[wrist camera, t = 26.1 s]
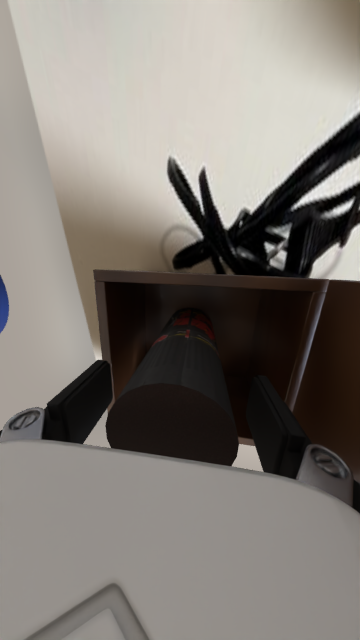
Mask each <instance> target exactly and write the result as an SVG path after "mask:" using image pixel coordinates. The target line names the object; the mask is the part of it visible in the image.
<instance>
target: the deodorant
mask: <svg viewBox="0 0 360 640" xmlns="http://www.w3.org/2000/svg"><path fill="white" fill-rule="evenodd" d="M106 433H107V439H108V442H109V444H110V446H111V448H113V449H120V450H127V451H133V452H140V453H147V454H154V455H160V456H167V457H173V458H180V459H186V460H193V461H199V462H206V463H212V464H218V465H225V466H232V464H233V462H234V460H235V459H236V457H237V452H238V446H239V440H238V435H237V430H236V425H235V421H234V416H233V412H232V408H231V404H230V399H229V395H228V391H227V386H226V382H225V378H224V373H223V369H222V365H221V360H220V356H219V352H218V348H217V343H216V339H215V335H214V330H213V326H212V322H211V320H210V318H209V317H208V316H207V315H206V313H204V312H203V311H201V310H199V309H196V308H190V307H187V308H182V309H180V310H178V311H176V312H175V313H174V314H173V315H172V316H171V318H170V319H169V321H168V322H167V324H166V325H165V327H164V328H163V330H162V331H161V333H160V334H159V336H158V337H157V339H156V340H155V342H154V343H153V345H152V346H151V348H150V350H149V351H148V353H147V354H146V356H145V357H144V359H143V360H142V362H141V363H140V365H139V366H138V368H137V369H136V371H135V372H134V374H133V375H132V377H131V378H130V380H129V381H128V383H127V384H126V386H125V387H124V389H123V390H122V392H121V394H120V395H119V397H118V398H117V400H116V401H115V403H114V404H113V406H112V408H111V409H110V411H109V412H108V417H107V422H106Z"/></svg>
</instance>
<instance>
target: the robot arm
mask: <svg viewBox="0 0 360 640" xmlns="http://www.w3.org/2000/svg"><path fill="white" fill-rule="evenodd" d="M112 399H113V390H112V379H111V368H110V363H108V361H106V360H97V361H96V362H95V363H94V364H92V365H91V366H90V367H89V368H88V369H87V370H85V372H83V373H82V374H81V375H80V376H79V377H78V378H76V379H75V380H74V381H73V382H72V383H70V384H69V385H68V386H67V387H66V388H65V389H63V390H62V391H61V392H60V393H59V394H58V395H56V396H55V397H54V398H53V399H52V400H51V401H50V402H48V403H47V407H46V408H45V409H42V408H39V407H35V408H30V409H26V410H24V411H22V412H20V413H18V414H16V415H14V416H13V417H12V418H10V419H9V420H8V421H7V423H6V424H5V426H4V428H3V430H1V431H0V640H360V483H358V482H357V481H355V480H354V477H353V472H352V470H351V468H350V467H349V465H348V464H347V463H346V462H345V461H344V459H342V458H341V457H340V456H339V455H338V454H337V453H335V452H334V451H332V450H331V449H329V448H327V447H325V446H322V445H319V444H312V442H311V441H310V439H309V438H308V436H307V435H306V433H305V432H304V430H303V429H302V427H301V425H300V424H299V422H298V421H297V419H296V418H295V416H294V415H293V413H292V412H291V410H290V409H289V407H288V406H287V404H286V403H285V402H284V401H283V400H282V399H281V398H280V396H279V395H278V393H277V391H276V390H275V388H274V387H273V385H272V384H271V382H270V381H269V379H268V378H267V376H260V375H256V376H255V377H253V378H252V382H251V387H250V393H249V398H248V403H247V409H246V418H247V422H248V425H249V428H250V431H251V434H252V437H253V440H254V443H255V446H256V450H257V453H258V455H259V459H260V462H261V465H262V468H263V471H264V472H259V471H253V470H248V469H243V468H237V467H231V466H225V465H218V464H212V463H206V462H199V461H193V460H186V459H180V458H173V457H167V456H160V455H154V454H147V453H140V452H133V451H127V450H120V449H113V448H106V447H99V446H92V445H84V444H83V443H84V441H85V440H86V438H87V437H88V435H89V434H90V432H91V431H92V429H93V428H94V427H95V425H96V424H97V422H98V421H99V419H100V418H101V416H102V415H103V413H104V412H105V410H106V409H107V408H108V406H109V405H110V403H111V402H112Z"/></svg>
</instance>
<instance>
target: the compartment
mask: <svg viewBox="0 0 360 640" xmlns="http://www.w3.org/2000/svg"><path fill="white" fill-rule="evenodd" d="M93 271H94V280H95V291H96V301H97V311H98V321H99V330H100V340H101V350H102V360H106V361H108V363H110V368H111V379H112V390H113V399H112V402H111V403H110V405H109V406H108V408H107V409H108V412H109V411H110V409H111V408H112V406H113V404H114V403H115V401H116V400H117V398H118V397H119V395H120V394H121V392H122V390H123V389H124V387H125V386H126V384H127V383H128V381H129V380H130V378H131V377H132V375H133V374H134V372H135V371H136V369H137V368H138V366H139V365H140V363H141V362H142V360H143V359H144V357H145V356H146V354H147V353H148V351H149V350H150V348H151V346H152V345H153V343H154V342H155V340H156V339H157V337H158V336H159V334H160V333H161V331H162V330H163V328H164V327H165V325H166V324H167V322H168V321H169V319H170V318H171V316H172V315H173V314H174V313H175V312H176V311H178V310H180V309H182V308H187V307H190V308H196V309H199V310H201V311H203V312H204V313H206V315H207V316H208V317H209V318H210V320H211V322H212V326H213V330H214V335H215V339H216V343H217V348H218V352H219V356H220V360H221V365H222V369H223V373H224V378H225V382H226V386H227V391H228V395H229V399H230V404H231V408H232V412H233V416H234V421H235V425H236V430H237V435H238V440H239V444H244V445H251V446H255V443H254V440H253V437H252V434H251V431H250V428H249V425H248V422H247V418H246V409H247V403H248V398H249V393H250V387H251V382H252V378H253V377H255V376H256V375H260V376H267V378H268V379H269V381H270V382H271V384H272V385H273V387H274V388H275V390H276V391H277V393H278V395H279V396H280V398H281V399H282V400H283V401H284V402H285V403H286V404H287V406H288V407H289V409H290V410H291V412H292V411H293V408H294V404H295V401H296V397H297V393H298V390H299V386H300V383H301V379H302V376H303V372H304V369H305V365H306V362H307V358H308V354H309V351H310V347H311V344H312V340H313V337H314V333H315V330H316V326H317V323H318V319H319V315H320V312H321V308H322V305H323V301H324V298H325V294H326V291H327V287H328V284H329V281H330V280H329V279H312V278H293V277H274V276H251V275H227V274H202V273H178V272H154V271H125V270H93Z"/></svg>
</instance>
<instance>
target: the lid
mask: <svg viewBox="0 0 360 640" xmlns="http://www.w3.org/2000/svg"><path fill="white" fill-rule="evenodd" d="M292 413H293V415H294V416H295V418H296V419H297V421H298V422H299V424H300V425H301V427H302V429H303V430H304V432H305V433H306V435H307V436H308V438H309V439H310V441H311V442H312V444H319V445H322V446H325V447H327V448H329V449H331V450H332V451H334V452H335V453H337V454H338V455H339V456H340V457H341V458H342V459H344V461H345V462H346V463H347V464H348V465H349V467H350V468H351V470H352V472H353V477H354V480H355V481H357V482H358V483H360V281H351V280H330V281H329V284H328V287H327V291H326V294H325V298H324V301H323V305H322V308H321V312H320V315H319V319H318V323H317V326H316V330H315V333H314V337H313V340H312V344H311V347H310V351H309V354H308V358H307V362H306V365H305V369H304V372H303V376H302V379H301V383H300V386H299V390H298V393H297V397H296V401H295V404H294V408H293V411H292Z"/></svg>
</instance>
